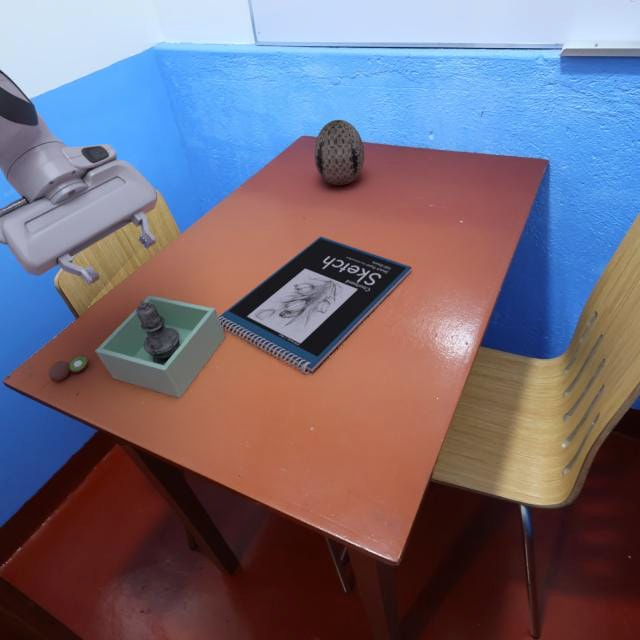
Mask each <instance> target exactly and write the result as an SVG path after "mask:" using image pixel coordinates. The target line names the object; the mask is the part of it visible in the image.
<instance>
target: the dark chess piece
mask: <svg viewBox="0 0 640 640" xmlns="http://www.w3.org/2000/svg"><path fill="white" fill-rule="evenodd" d="M143 301H144V300H141V301H139V305H138V306H137V307H136V309H137V310H136V309H135V310H136V313H137V315H138V317H139V319H140V321H141V323H142V324H141V329H142V330H143V331H145V332H146V333H147V335H148V337H147V338H146V339H145V341H144V344H143V347H144V350H145V351H146V352H147V353H149V354H150V355H152V356H153V362H154V363H157V364H160V365H165V363H166V362H167V361H168V360H169V359H170V357H171V356H172V355H173V354H174V352H175V351H176V350H177V349H178V348H179V346H180V344H179V341H180V340H179V338H180V335H179V332H178V331H177V330H175V329H173V328H166V327H165V325H164V318H163V317H161V316H159V314H158V312H157V309H156V307H155V306H154V305H153V304H152V303H145V302H143Z"/></svg>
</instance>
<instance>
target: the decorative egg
mask: <svg viewBox="0 0 640 640" xmlns="http://www.w3.org/2000/svg"><path fill="white" fill-rule="evenodd" d="M313 157H314V164H315V167H316V169H317V172H318V173H319V175H320V176H321V178H322V179H323V180H325V181H326V182H327V183H330V184H331V185H333V186H344V185H348V184H350V183H352V182H353V181H354V180H356V179H357V178H358V176H359V175H360V173H361V171H362V170H363V167H364V163H365V147H364V143H363V140H362V137H361V135H360V133H359V131H358V130H357V129H356V128H355V127H354V126H353V124H351V123H350V122H349V121H346V120H343V119H334V120H330V121H329V122H328V123H326V124H325V125H324V126H323V127H322V128H321V130H320V131H319V132H318V134H317V136H316V140H315V144H314V156H313Z"/></svg>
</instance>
